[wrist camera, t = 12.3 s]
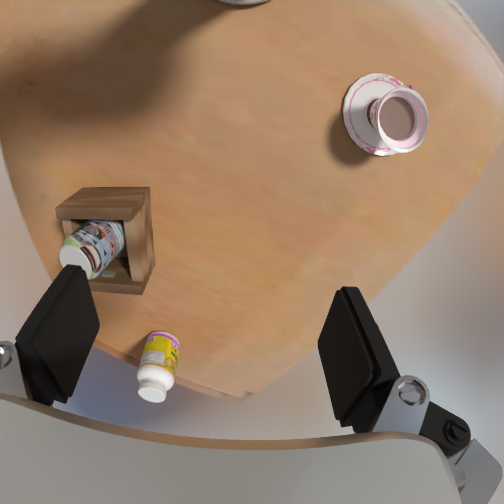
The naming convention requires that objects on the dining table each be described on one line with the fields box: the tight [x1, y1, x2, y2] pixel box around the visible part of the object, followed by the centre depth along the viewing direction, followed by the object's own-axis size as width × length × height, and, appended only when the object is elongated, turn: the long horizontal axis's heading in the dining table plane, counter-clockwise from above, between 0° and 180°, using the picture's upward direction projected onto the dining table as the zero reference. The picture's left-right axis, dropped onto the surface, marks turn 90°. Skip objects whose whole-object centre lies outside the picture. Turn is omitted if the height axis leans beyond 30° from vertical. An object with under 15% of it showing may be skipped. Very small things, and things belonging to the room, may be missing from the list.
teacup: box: [343, 74, 429, 156], centre depth 31 cm, size 12×12×6 cm
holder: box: [55, 187, 155, 295], centre depth 37 cm, size 12×11×8 cm
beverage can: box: [60, 219, 126, 280], centre depth 34 cm, size 6×7×12 cm
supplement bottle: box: [137, 331, 180, 402], centre depth 47 cm, size 7×7×13 cm
